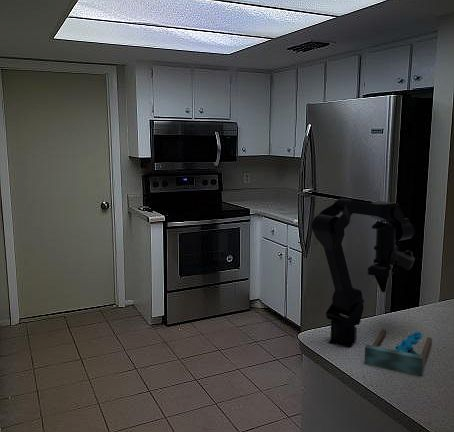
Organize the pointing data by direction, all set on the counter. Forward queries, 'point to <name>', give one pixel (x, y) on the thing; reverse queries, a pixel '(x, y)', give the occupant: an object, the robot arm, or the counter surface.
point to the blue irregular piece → (409, 343)
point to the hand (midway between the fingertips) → (383, 291)
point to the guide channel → (396, 356)
